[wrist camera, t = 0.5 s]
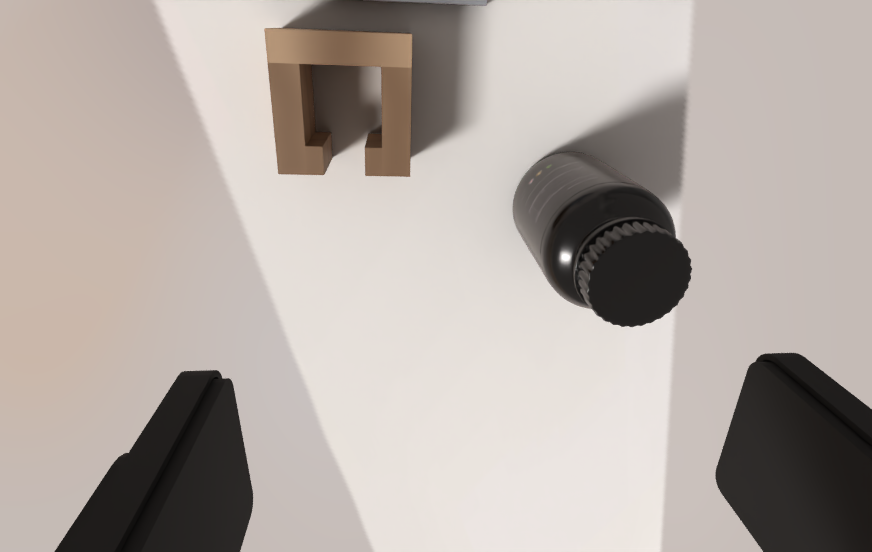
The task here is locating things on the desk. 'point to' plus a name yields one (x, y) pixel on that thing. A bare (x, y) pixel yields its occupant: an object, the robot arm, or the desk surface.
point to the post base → (442, 2)
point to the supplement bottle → (601, 239)
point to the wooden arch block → (295, 98)
